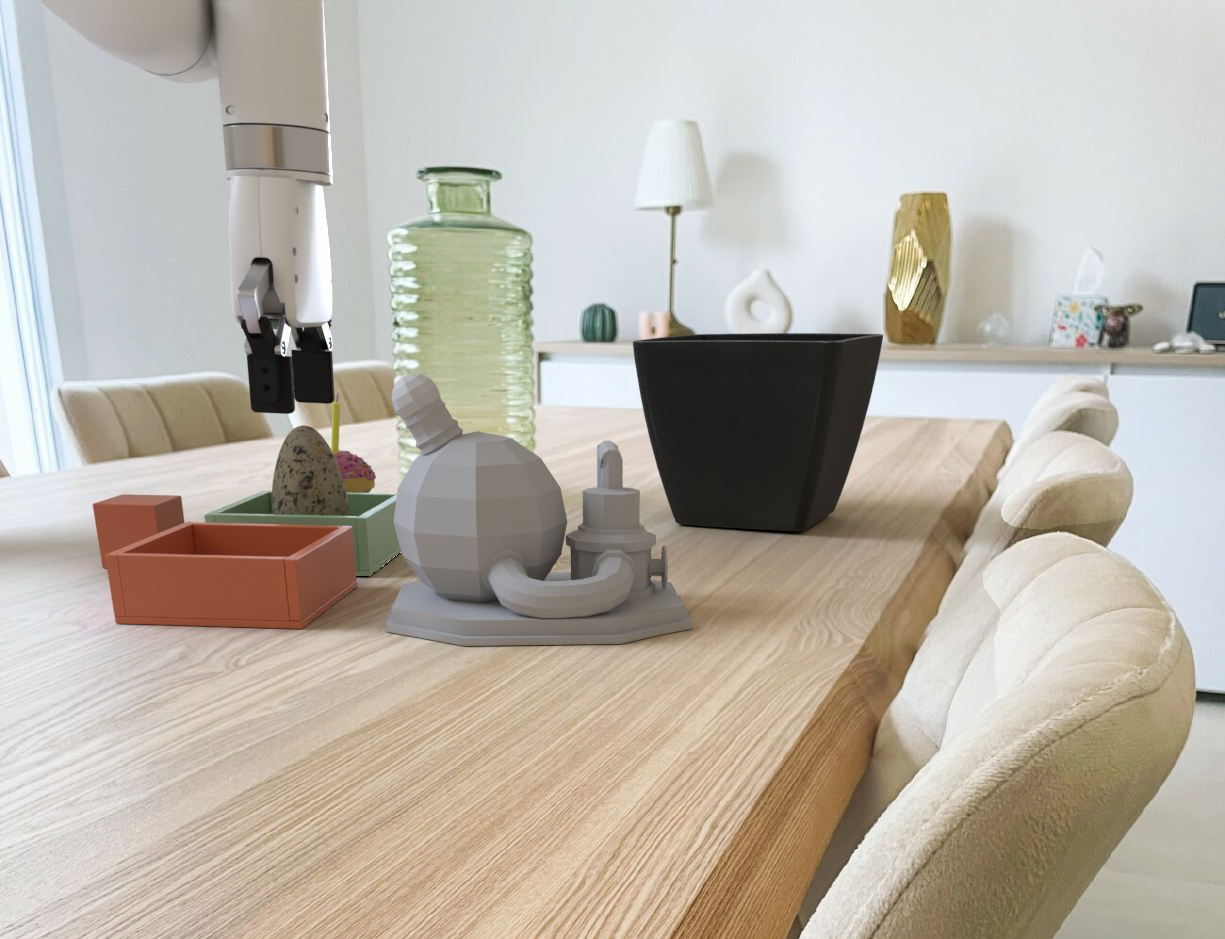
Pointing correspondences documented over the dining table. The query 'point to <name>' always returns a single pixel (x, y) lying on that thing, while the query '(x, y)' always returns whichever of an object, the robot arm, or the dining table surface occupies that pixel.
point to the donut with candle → (350, 461)
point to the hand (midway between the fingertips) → (295, 407)
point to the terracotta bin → (232, 575)
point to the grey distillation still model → (518, 543)
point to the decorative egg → (308, 477)
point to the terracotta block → (134, 519)
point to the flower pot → (755, 423)
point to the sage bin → (330, 523)
